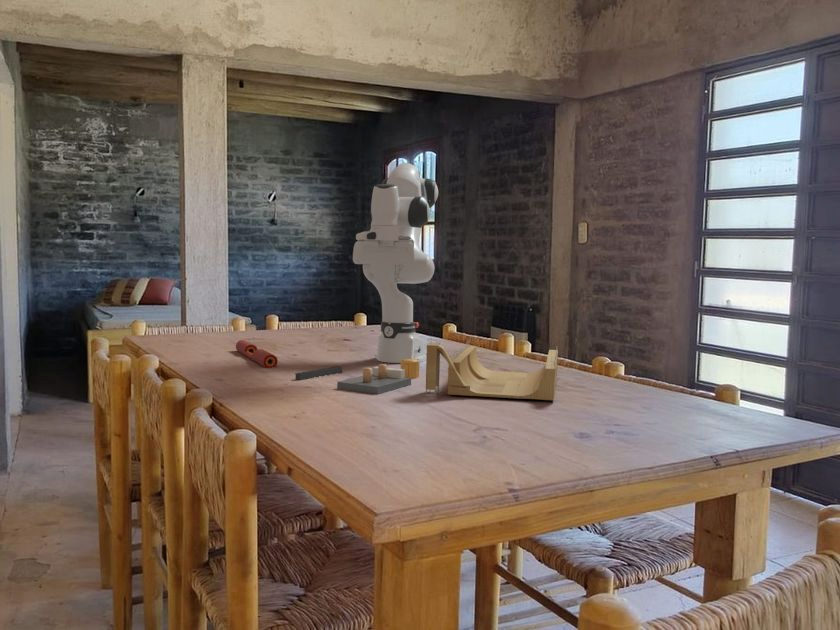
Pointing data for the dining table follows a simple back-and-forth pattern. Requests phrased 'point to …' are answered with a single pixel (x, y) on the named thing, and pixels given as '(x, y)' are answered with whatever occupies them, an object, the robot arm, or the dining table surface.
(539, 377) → the skate ramp
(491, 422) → the dining table surface
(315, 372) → the dark grey bar
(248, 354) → the blood vessel
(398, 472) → the dining table surface
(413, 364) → the cylinder
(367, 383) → the board
